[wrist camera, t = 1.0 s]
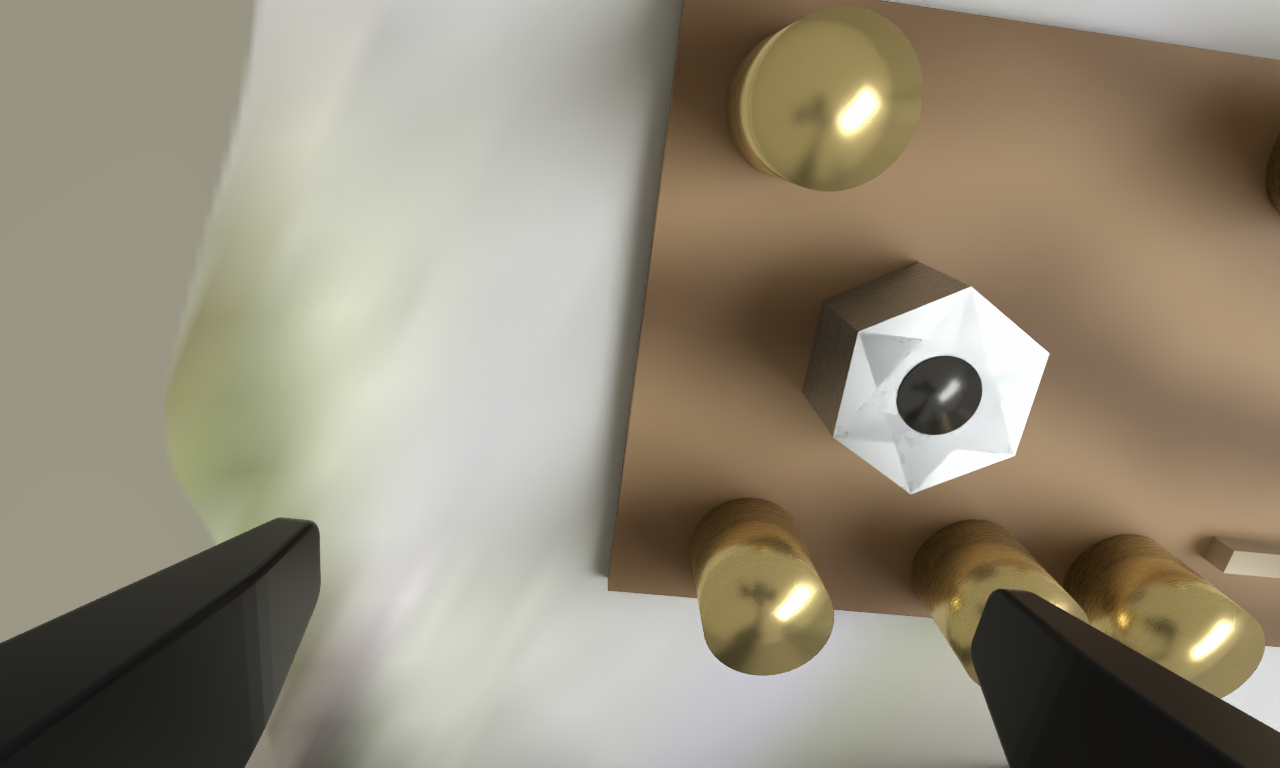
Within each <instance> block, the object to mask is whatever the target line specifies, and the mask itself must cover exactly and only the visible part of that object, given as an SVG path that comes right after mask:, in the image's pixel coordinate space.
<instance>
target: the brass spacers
mask: <svg viewBox="0 0 1280 768" xmlns="http://www.w3.org/2000/svg"><path fill="white" fill-rule="evenodd" d="M922 102H923V78H922V73H921V67H920V64H919V61H918V58H917V55H916V53H915V51H914V49H913V47H912V45H911V43H910V42H909V40H908V39H907V37H906V36H905V34H904V33H903V32H902V31H901V30H900V29H899V28H898V27H897V26H896V25H895V24H894V23H892V22H891V21H890V20H889V19H887V18H885V17H884V16H882V15H880V14H878V13H876V12H873V11H871V10H868V9H864V8H859V7H850V6H841V7H832V8H827V9H823V10H820V11H817V12H815V13H812V14H810V15H808V16H806V17H804V18H802V19H800V20H799V21H797V22H795V23H793V24H791V25H789V26H787V27H785V28H784V29H782V30H780V31H778V32H776V33H774V34H772V35H771V36H769V37H767V38H765V39H763V40H762V41H761V42H759V43H758V44H756V45H755V46H754V47H753V48H752V49H751V50H750V51H749V52H748V53H747V54H746V55H745V57H744V58H743V59H742V60H741V62H740V63H739V65H738V66H737V68H736V70H735V72H734V74H733V76H732V79H731V82H730V85H729V88H728V92H727V98H726V120H727V126H728V130H729V133H730V136H731V138H732V141H733V143H734V145H735V146H736V148H737V150H738V151H739V153H740V154H741V155H742V156H743V158H744V159H745V160H746V161H747V162H749V163H750V164H751V165H752V166H754V167H755V168H756V169H758V170H760V171H762V172H764V173H766V174H768V175H771V176H774V177H777V178H779V179H782V180H785V181H788V182H791V183H793V184H796V185H799V186H802V187H804V188H807V189H811V190H816V191H826V192H833V191H843V190H847V189H852V188H855V187H857V186H860V185H863V184H865V183H867V182H869V181H871V180H873V179H874V178H876V177H877V176H879V175H880V174H882V173H883V172H884V171H885V170H886V169H888V168H889V167H890V166H891V165H892V164H893V163H894V162H895V161H896V160H897V158H898V157H899V156H900V155H901V153H902V152H903V151H904V149H905V148H906V146H907V145H908V143H909V141H910V139H911V138H912V136H913V133H914V131H915V129H916V126H917V123H918V120H919V117H920V113H921V108H922ZM1265 181H1266V191H1267V195H1268V198H1269V201H1270V203H1271V204H1272V206H1273V208H1274V209H1275V210H1276V212H1277V213H1278V214H1279V215H1280V135H1279V137H1278V138H1277V140H1276V142H1275V144H1274V146H1273V148H1272V150H1271V153H1270V156H1269V159H1268V163H1267V167H1266V176H1265ZM690 556H691V562H692V568H693V574H694V580H695V585H696V591H697V597H698V603H699V609H700V614H701V620H702V626H703V632H704V637H705V640H706V643H707V645H708V647H709V649H710V650H711V652H712V653H713V654H714V656H715V657H716V658H717V659H718V660H719V661H720V662H722V663H723V664H725V665H726V666H728V667H730V668H732V669H734V670H736V671H739V672H742V673H746V674H751V675H775V674H780V673H784V672H788V671H791V670H793V669H795V668H798V667H800V666H801V665H803V664H805V663H806V662H808V661H809V660H811V659H812V658H813V657H814V656H815V655H817V654H818V653H819V651H820V650H821V649H822V648H823V647H824V645H825V644H826V642H827V641H828V639H829V637H830V634H831V631H832V629H833V623H834V611H833V606H832V602H831V600H830V597H829V595H828V593H827V591H826V588H825V586H824V584H823V582H822V580H821V577H820V575H819V573H818V571H817V568H816V566H815V564H814V562H813V559H812V557H811V555H810V553H809V551H808V548H807V546H806V544H805V542H804V539H803V537H802V535H801V533H800V530H799V528H798V526H797V524H796V522H795V520H794V519H793V518H792V516H791V515H790V514H789V513H788V512H787V511H786V510H784V509H783V508H782V507H780V506H779V505H777V504H775V503H772V502H770V501H767V500H763V499H757V498H741V499H736V500H732V501H728V502H725V503H723V504H721V505H719V506H717V507H716V508H714V509H712V510H711V511H710V512H708V513H707V514H706V515H705V516H704V517H703V518H702V519H701V521H700V522H699V523H698V525H697V526H696V528H695V530H694V532H693V535H692V538H691V542H690ZM911 580H912V584H913V587H914V589H915V591H916V593H917V594H918V596H919V598H920V599H921V601H922V602H923V604H924V605H925V607H926V609H927V610H928V612H929V613H930V615H931V616H932V618H933V620H934V621H935V623H936V624H937V626H938V627H939V629H940V631H941V632H942V634H943V635H944V637H945V638H946V640H947V642H948V643H949V645H950V646H951V648H952V649H953V651H954V653H955V654H956V656H957V657H958V659H959V660H960V662H961V664H962V665H963V667H964V668H965V670H966V671H967V673H968V675H969V676H970V677H971V678H972V680H973V681H974V682H976V683H977V684H978V685H979V686H980V683H979V681H978V678H977V675H976V672H975V669H974V667H973V663H972V659H971V643H972V639H973V636H974V634H975V631H976V628H977V626H978V623H979V620H980V618H981V615H982V612H983V610H984V607H985V604H986V602H987V599H988V597H989V595H990V594H991V593H992V592H993V591H994V590H996V589H999V588H1004V589H1015V590H1025V591H1029V592H1032V593H1035V594H1036V595H1038V596H1040V597H1042V598H1043V599H1045V600H1047V601H1049V602H1050V603H1052V604H1054V605H1056V606H1058V607H1059V608H1061V609H1063V610H1065V611H1066V612H1068V613H1070V614H1072V615H1073V616H1075V617H1077V618H1079V619H1080V620H1082V621H1084V622H1086V623H1088V624H1089V625H1091V626H1093V627H1095V628H1096V629H1098V630H1100V631H1102V632H1103V633H1105V634H1107V635H1109V636H1110V637H1112V638H1114V639H1116V640H1117V641H1119V642H1121V643H1123V644H1125V645H1126V646H1128V647H1130V648H1132V649H1133V650H1135V651H1137V652H1139V653H1140V654H1142V655H1144V656H1146V657H1147V658H1149V659H1151V660H1153V661H1155V662H1156V663H1158V664H1160V665H1162V666H1163V667H1165V668H1167V669H1169V670H1170V671H1172V672H1174V673H1176V674H1177V675H1179V676H1181V677H1183V678H1184V679H1186V680H1188V681H1190V682H1192V683H1193V684H1195V685H1197V686H1199V687H1200V688H1202V689H1204V690H1206V691H1207V692H1209V693H1211V694H1213V695H1214V696H1216V697H1218V698H1223V697H1225V696H1226V695H1228V694H1230V693H1231V692H1233V691H1234V690H1236V689H1237V688H1239V687H1240V686H1241V685H1242V684H1243V683H1244V682H1246V680H1247V679H1248V678H1249V677H1250V676H1251V675H1252V674H1253V672H1254V671H1255V670H1256V668H1257V667H1258V665H1259V663H1260V661H1261V659H1262V656H1263V653H1264V649H1265V636H1264V632H1263V629H1262V627H1261V625H1260V624H1259V623H1258V621H1257V620H1256V619H1255V618H1254V617H1253V616H1251V615H1250V614H1249V613H1247V612H1246V611H1245V610H1244V609H1242V608H1241V607H1240V606H1238V605H1237V604H1236V603H1235V602H1233V601H1232V600H1231V599H1230V598H1228V597H1227V596H1226V595H1224V594H1223V593H1222V592H1221V591H1219V590H1218V589H1217V588H1215V587H1214V586H1213V585H1212V584H1210V583H1209V582H1208V581H1206V580H1205V579H1204V578H1203V577H1201V576H1200V575H1199V574H1197V573H1196V572H1195V571H1194V570H1192V569H1191V568H1190V567H1189V566H1187V565H1186V564H1185V563H1183V562H1182V561H1181V560H1180V559H1178V558H1177V557H1176V556H1174V555H1173V554H1172V553H1171V552H1169V551H1168V550H1167V549H1165V548H1164V547H1163V546H1162V545H1160V544H1159V543H1158V542H1156V541H1155V540H1153V539H1151V538H1149V537H1146V536H1142V535H1136V534H1124V535H1117V536H1113V537H1110V538H1106V539H1104V540H1102V541H1099V542H1097V543H1096V544H1094V545H1092V546H1091V547H1089V548H1088V549H1086V550H1085V551H1084V552H1083V553H1081V554H1080V555H1079V556H1078V557H1077V558H1076V559H1075V561H1074V562H1073V563H1072V565H1071V566H1070V568H1069V569H1068V571H1067V573H1066V575H1065V578H1064V582H1063V588H1062V587H1061V586H1060V585H1059V584H1058V582H1057V581H1056V580H1055V579H1054V578H1053V577H1052V576H1051V575H1050V574H1049V573H1048V572H1047V571H1046V570H1045V569H1044V568H1043V567H1042V566H1041V565H1040V564H1039V563H1038V562H1037V560H1036V559H1035V558H1034V557H1033V556H1032V555H1031V554H1030V553H1029V552H1028V551H1027V550H1026V549H1025V548H1024V547H1023V546H1022V545H1021V544H1020V543H1019V542H1018V541H1017V540H1016V538H1015V537H1014V536H1013V535H1012V534H1011V533H1010V532H1009V531H1007V530H1006V529H1005V528H1004V527H1002V526H1000V525H998V524H996V523H994V522H990V521H986V520H976V519H973V520H964V521H959V522H956V523H952V524H950V525H948V526H945V527H943V528H942V529H940V530H938V531H937V532H935V533H934V534H933V535H931V536H930V537H929V538H928V539H927V540H926V541H925V542H924V543H923V544H922V546H921V547H920V548H919V550H918V552H917V553H916V555H915V558H914V560H913V563H912V568H911Z"/></svg>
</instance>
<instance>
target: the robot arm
mask: <svg viewBox="0 0 1280 768" xmlns="http://www.w3.org/2000/svg"><path fill="white" fill-rule="evenodd" d="M320 585H321V572H320V534H319V529H318V526H317V524H316V523H315V522H314V521H311V520H302V519H292V518H276V519H274V520H271V521H269V522H267V523H265V524H262V525H260V526H258V527H256V528H254V529H251V530H249V531H247V532H245V533H243V534H240V535H238V536H236V537H234V538H232V539H229V540H227V541H225V542H223V543H221V544H218V545H216V546H214V547H212V548H210V549H207V550H205V551H203V552H201V553H198V554H196V555H194V556H192V557H190V558H187V559H185V560H183V561H181V562H179V563H176V564H174V565H172V566H170V567H168V568H165V569H163V570H161V571H159V572H156V573H154V574H152V575H150V576H148V577H145V578H143V579H141V580H139V581H137V582H134V583H133V584H130V585H128V586H126V587H123V588H121V589H119V590H117V591H115V592H112V593H110V594H108V595H106V596H103V597H101V598H99V599H97V600H95V601H92V602H90V603H88V604H86V605H84V606H81V607H79V608H77V609H75V610H73V611H70V612H68V613H66V614H64V615H61V616H59V617H57V618H55V619H53V620H50V621H48V622H46V623H44V624H42V625H39V626H37V627H35V628H33V629H31V630H28V631H26V632H24V633H22V634H19V635H17V636H15V637H13V638H11V639H9V640H6V641H4V642H2V643H0V768H245V766H246V764H247V762H248V760H249V758H250V757H251V755H252V753H253V751H254V749H255V747H256V745H257V743H258V741H259V739H260V737H261V735H262V733H263V731H264V729H265V727H266V725H267V723H268V720H269V718H270V716H271V713H272V711H273V709H274V707H275V704H276V702H277V699H278V697H279V694H280V692H281V689H282V687H283V685H284V682H285V680H286V677H287V675H288V672H289V670H290V667H291V665H292V663H293V660H294V658H295V655H296V653H297V650H298V648H299V645H300V643H301V641H302V638H303V636H304V633H305V631H306V628H307V626H308V623H309V621H310V619H311V616H312V614H313V611H314V609H315V606H316V604H317V600H318V597H319V592H320ZM971 659H972V663H973V667H974V669H975V672H976V675H977V678H978V681H979V683H980V686H981V689H982V692H983V695H984V697H985V700H986V703H987V706H988V709H989V711H990V714H991V717H992V720H993V723H994V725H995V728H996V731H997V734H998V737H999V739H1000V742H1001V745H1002V748H1003V751H1004V753H1005V756H1006V759H1007V762H1008V765H1009V767H1010V768H1280V732H1278V731H1276V730H1274V729H1273V728H1271V727H1269V726H1267V725H1266V724H1264V723H1262V722H1260V721H1259V720H1257V719H1255V718H1253V717H1251V716H1250V715H1248V714H1246V713H1244V712H1243V711H1241V710H1239V709H1237V708H1236V707H1234V706H1232V705H1230V704H1229V703H1227V702H1225V701H1223V700H1222V699H1220V698H1218V697H1216V696H1214V695H1213V694H1211V693H1209V692H1207V691H1206V690H1204V689H1202V688H1200V687H1199V686H1197V685H1195V684H1193V683H1192V682H1190V681H1188V680H1186V679H1184V678H1183V677H1181V676H1179V675H1177V674H1176V673H1174V672H1172V671H1170V670H1169V669H1167V668H1165V667H1163V666H1162V665H1160V664H1158V663H1156V662H1155V661H1153V660H1151V659H1149V658H1147V657H1146V656H1144V655H1142V654H1140V653H1139V652H1137V651H1135V650H1133V649H1132V648H1130V647H1128V646H1126V645H1125V644H1123V643H1121V642H1119V641H1117V640H1116V639H1114V638H1112V637H1110V636H1109V635H1107V634H1105V633H1103V632H1102V631H1100V630H1098V629H1096V628H1095V627H1093V626H1091V625H1089V624H1088V623H1086V622H1084V621H1082V620H1080V619H1079V618H1077V617H1075V616H1073V615H1072V614H1070V613H1068V612H1066V611H1065V610H1063V609H1061V608H1059V607H1058V606H1056V605H1054V604H1052V603H1050V602H1049V601H1047V600H1045V599H1043V598H1042V597H1040V596H1038V595H1036V594H1035V593H1032V592H1029V591H1025V590H1015V589H1004V588H999V589H996V590H994V591H993V592H992V593H991V594H990V595H989V597H988V599H987V602H986V604H985V607H984V610H983V612H982V615H981V618H980V620H979V623H978V626H977V628H976V631H975V634H974V636H973V639H972V643H971Z"/></svg>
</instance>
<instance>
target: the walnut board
mask: <svg viewBox="0 0 1280 768" xmlns="http://www.w3.org/2000/svg"><path fill="white" fill-rule="evenodd" d="M841 6H850V7H859V8H864V9H868V10H871V11H873V12H876V13H878V14H880V15H882V16H884V17H885V18H887V19H889V20H890V21H891V22H892V23H894V24H895V25H896V26H897V27H898V28H899V29H900V30H901V31H902V32H903V33H904V34H905V36H906V37H907V39H908V40H909V42H910V43H911V45H912V47H913V49H914V51H915V53H916V55H917V58H918V61H919V64H920V67H921V73H922V78H923V102H922V108H921V113H920V117H919V120H918V123H917V126H916V129H915V131H914V133H913V136H912V138H911V139H910V141H909V143H908V145H907V146H906V148H905V149H904V151H903V152H902V153H901V155H900V156H899V157H898V158H897V160H896V161H895V162H894V163H893V164H892V165H891V166H890V167H889V168H888V169H886V170H885V171H884V172H883V173H882V174H880V175H879V176H877V177H876V178H874V179H873V180H871V181H869V182H867V183H865V184H863V185H860V186H857V187H855V188H852V189H847V190H843V191H833V192H826V191H816V190H811V189H807V188H804V187H802V186H799V185H796V184H793V183H791V182H788V181H785V180H782V179H779V178H777V177H774V176H771V175H768V174H766V173H764V172H762V171H760V170H758V169H756V168H755V167H754V166H752V165H751V164H750V163H749V162H747V161H746V160H745V159H744V158H743V156H742V155H741V154H740V153H739V151H738V150H737V148H736V146H735V145H734V143H733V141H732V138H731V136H730V133H729V130H728V126H727V120H726V98H727V92H728V88H729V85H730V82H731V79H732V76H733V74H734V72H735V70H736V68H737V66H738V65H739V63H740V62H741V60H742V59H743V58H744V57H745V55H746V54H747V53H748V52H749V51H750V50H751V49H752V48H753V47H754V46H755V45H756V44H758V43H759V42H761V41H762V40H763V39H765V38H767V37H769V36H771V35H772V34H774V33H776V32H778V31H780V30H782V29H784V28H785V27H787V26H789V25H791V24H793V23H795V22H797V21H799V20H800V19H802V18H804V17H806V16H808V15H810V14H812V13H815V12H817V11H820V10H823V9H827V8H832V7H841ZM1279 135H1280V60H1273V59H1267V58H1260V57H1253V56H1247V55H1240V54H1233V53H1227V52H1220V51H1214V50H1207V49H1200V48H1194V47H1187V46H1180V45H1174V44H1167V43H1160V42H1154V41H1147V40H1140V39H1134V38H1127V37H1120V36H1114V35H1107V34H1100V33H1094V32H1087V31H1081V30H1074V29H1067V28H1061V27H1054V26H1047V25H1041V24H1034V23H1027V22H1021V21H1014V20H1007V19H1001V18H994V17H987V16H981V15H974V14H967V13H961V12H954V11H948V10H941V9H934V8H928V7H921V6H914V5H908V4H901V3H894V2H888V1H881V0H683V6H682V14H681V22H680V30H679V37H678V45H677V53H676V60H675V68H674V76H673V83H672V91H671V99H670V106H669V114H668V122H667V129H666V137H665V145H664V152H663V160H662V168H661V175H660V183H659V191H658V198H657V206H656V214H655V221H654V229H653V237H652V244H651V252H650V260H649V268H648V275H647V283H646V291H645V298H644V306H643V314H642V321H641V329H640V337H639V344H638V352H637V360H636V367H635V375H634V383H633V390H632V398H631V406H630V413H629V421H628V429H627V436H626V444H625V452H624V459H623V467H622V475H621V482H620V490H619V498H618V506H617V513H616V521H615V529H614V536H613V544H612V552H611V559H610V567H609V575H608V591H619V592H631V593H643V594H655V595H667V596H679V597H690V598H698V597H697V591H696V585H695V580H694V574H693V568H692V562H691V556H690V542H691V538H692V535H693V532H694V530H695V528H696V526H697V525H698V523H699V522H700V521H701V519H702V518H703V517H704V516H705V515H706V514H707V513H708V512H710V511H711V510H712V509H714V508H716V507H717V506H719V505H721V504H723V503H725V502H728V501H732V500H736V499H741V498H757V499H763V500H767V501H770V502H772V503H775V504H777V505H779V506H780V507H782V508H783V509H784V510H786V511H787V512H788V513H789V514H790V515H791V516H792V518H793V519H794V520H795V522H796V524H797V526H798V528H799V530H800V533H801V535H802V537H803V539H804V542H805V544H806V546H807V548H808V551H809V553H810V555H811V557H812V559H813V562H814V564H815V566H816V568H817V571H818V573H819V575H820V577H821V580H822V582H823V584H824V586H825V588H826V591H827V593H828V595H829V597H830V600H831V602H832V606H833V610H845V611H857V612H869V613H881V614H893V615H905V616H916V617H928V618H932V616H931V615H930V613H929V612H928V610H927V609H926V607H925V605H924V604H923V602H922V601H921V599H920V598H919V596H918V594H917V593H916V591H915V589H914V587H913V584H912V580H911V568H912V563H913V560H914V558H915V555H916V553H917V552H918V550H919V548H920V547H921V546H922V544H923V543H924V542H925V541H926V540H927V539H928V538H929V537H930V536H931V535H933V534H934V533H935V532H937V531H938V530H940V529H942V528H943V527H945V526H948V525H950V524H952V523H956V522H959V521H964V520H973V519H976V520H986V521H990V522H994V523H996V524H998V525H1000V526H1002V527H1004V528H1005V529H1006V530H1007V531H1009V532H1010V533H1011V534H1012V535H1013V536H1014V537H1015V538H1016V540H1017V541H1018V542H1019V543H1020V544H1021V545H1022V546H1023V547H1024V548H1025V549H1026V550H1027V551H1028V552H1029V553H1030V554H1031V555H1032V556H1033V557H1034V558H1035V559H1036V560H1037V562H1038V563H1039V564H1040V565H1041V566H1042V567H1043V568H1044V569H1045V570H1046V571H1047V572H1048V573H1049V574H1050V575H1051V576H1052V577H1053V578H1054V579H1055V580H1056V581H1057V582H1058V584H1059V585H1060V586H1061V587H1062V588H1063V582H1064V578H1065V575H1066V573H1067V571H1068V569H1069V568H1070V566H1071V565H1072V563H1073V562H1074V561H1075V559H1076V558H1077V557H1078V556H1079V555H1080V554H1081V553H1083V552H1084V551H1085V550H1086V549H1088V548H1089V547H1091V546H1092V545H1094V544H1096V543H1097V542H1099V541H1102V540H1104V539H1106V538H1110V537H1113V536H1117V535H1124V534H1136V535H1142V536H1146V537H1149V538H1151V539H1153V540H1155V541H1156V542H1158V543H1159V544H1160V545H1162V546H1163V547H1164V548H1165V549H1167V550H1168V551H1169V552H1171V553H1172V554H1173V555H1174V556H1176V557H1177V558H1178V559H1180V560H1181V561H1182V562H1183V563H1185V564H1186V565H1187V566H1189V567H1190V568H1191V569H1192V570H1194V571H1195V572H1196V573H1197V574H1199V575H1200V576H1201V577H1203V578H1204V579H1205V580H1206V581H1208V582H1209V583H1210V584H1212V585H1213V586H1214V587H1215V588H1217V589H1218V590H1219V591H1221V592H1222V593H1223V594H1224V595H1226V596H1227V597H1228V598H1230V599H1231V600H1232V601H1233V602H1235V603H1236V604H1237V605H1238V606H1240V607H1241V608H1242V609H1244V610H1245V611H1246V612H1247V613H1249V614H1250V615H1251V616H1253V617H1254V618H1255V619H1256V620H1257V621H1258V623H1259V624H1260V625H1261V627H1262V629H1263V632H1264V636H1265V646H1273V647H1280V215H1279V214H1278V213H1277V212H1276V210H1275V209H1274V208H1273V206H1272V204H1271V203H1270V201H1269V198H1268V195H1267V191H1266V181H1265V176H1266V167H1267V163H1268V159H1269V156H1270V153H1271V150H1272V148H1273V146H1274V144H1275V142H1276V140H1277V138H1278V137H1279ZM917 261H918V262H920V263H923V264H925V265H927V266H929V267H931V268H933V269H935V270H937V271H940V272H942V273H944V274H946V275H948V276H950V277H952V278H954V279H957V280H959V281H961V282H963V283H965V284H967V285H969V286H971V287H972V288H974V289H975V290H976V291H977V292H978V293H979V294H981V295H982V296H983V297H984V298H985V299H986V300H988V301H989V302H990V303H991V304H992V305H993V306H995V307H996V308H997V309H998V310H999V311H1000V312H1002V313H1003V314H1004V315H1005V316H1006V317H1007V318H1009V319H1010V320H1011V321H1012V322H1013V323H1014V324H1016V325H1017V326H1018V327H1019V328H1020V329H1021V330H1023V331H1024V332H1025V333H1026V334H1027V335H1028V336H1030V337H1031V338H1032V339H1033V340H1034V341H1035V342H1037V343H1038V344H1039V345H1040V346H1041V347H1042V348H1044V349H1045V350H1046V351H1047V352H1048V353H1049V356H1048V359H1047V362H1046V365H1045V368H1044V371H1043V374H1042V377H1041V380H1040V383H1039V386H1038V389H1037V392H1036V394H1035V397H1034V400H1033V403H1032V406H1031V409H1030V412H1029V415H1028V418H1027V421H1026V424H1025V427H1024V430H1023V433H1022V436H1021V438H1020V441H1019V444H1018V447H1017V450H1016V453H1015V456H1012V457H1010V458H1007V459H1004V460H1002V461H999V462H996V463H994V464H991V465H988V466H986V467H983V468H980V469H977V470H975V471H972V472H969V473H967V474H964V475H961V476H959V477H956V478H953V479H951V480H948V481H945V482H942V483H940V484H937V485H934V486H932V487H929V488H926V489H924V490H921V491H918V492H916V493H913V494H910V493H908V492H907V491H906V490H904V489H903V488H902V487H900V486H899V485H897V484H896V483H895V482H893V481H892V480H891V479H889V478H888V477H887V476H885V475H884V474H882V473H881V472H880V471H878V470H877V469H876V468H874V467H873V466H872V465H870V464H869V463H868V462H866V461H865V460H863V459H862V458H861V457H859V456H858V455H857V454H855V453H854V452H853V451H851V450H850V449H849V448H847V447H846V446H844V445H843V444H842V443H840V442H839V441H838V440H836V439H835V438H834V437H832V435H831V434H830V432H829V431H828V429H827V428H826V426H825V425H824V423H823V422H822V420H821V419H820V418H819V416H818V415H817V413H816V412H815V410H814V409H813V407H812V406H811V404H810V403H809V401H808V400H807V399H806V397H805V396H804V394H803V393H802V391H803V386H804V382H805V377H806V373H807V368H808V363H809V359H810V354H811V350H812V345H813V341H814V336H815V331H816V327H817V322H818V318H819V313H820V309H821V304H822V300H824V299H827V298H829V297H832V296H834V295H836V294H839V293H841V292H844V291H846V290H849V289H851V288H854V287H856V286H859V285H861V284H863V283H866V282H868V281H871V280H873V279H876V278H878V277H881V276H883V275H886V274H888V273H890V272H893V271H895V270H898V269H900V268H903V267H905V266H908V265H910V264H912V263H915V262H917Z"/></svg>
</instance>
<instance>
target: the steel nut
mask: <svg viewBox="0 0 1280 768" xmlns="http://www.w3.org/2000/svg"><path fill="white" fill-rule="evenodd" d="M1048 356H1049V353H1048V352H1047V351H1046V350H1045V349H1044V348H1042V347H1041V346H1040V345H1039V344H1038V343H1037V342H1035V341H1034V340H1033V339H1032V338H1031V337H1030V336H1028V335H1027V334H1026V333H1025V332H1024V331H1023V330H1021V329H1020V328H1019V327H1018V326H1017V325H1016V324H1014V323H1013V322H1012V321H1011V320H1010V319H1009V318H1007V317H1006V316H1005V315H1004V314H1003V313H1002V312H1000V311H999V310H998V309H997V308H996V307H995V306H993V305H992V304H991V303H990V302H989V301H988V300H986V299H985V298H984V297H983V296H982V295H981V294H979V293H978V292H977V291H976V290H975V289H974V288H972V287H971V286H969V285H967V284H965V283H963V282H961V281H959V280H957V279H954V278H952V277H950V276H948V275H946V274H944V273H942V272H940V271H937V270H935V269H933V268H931V267H929V266H927V265H925V264H923V263H920V262H918V261H917V262H915V263H912V264H910V265H908V266H905V267H903V268H900V269H898V270H895V271H893V272H890V273H888V274H886V275H883V276H881V277H878V278H876V279H873V280H871V281H868V282H866V283H863V284H861V285H859V286H856V287H854V288H851V289H849V290H846V291H844V292H841V293H839V294H836V295H834V296H832V297H829V298H827V299H824V300H822V304H821V309H820V313H819V318H818V322H817V327H816V331H815V336H814V341H813V345H812V350H811V354H810V359H809V363H808V368H807V373H806V377H805V382H804V386H803V391H802V393H803V394H804V396H805V397H806V399H807V400H808V401H809V403H810V404H811V406H812V407H813V409H814V410H815V412H816V413H817V415H818V416H819V418H820V419H821V420H822V422H823V423H824V425H825V426H826V428H827V429H828V431H829V432H830V434H831V435H832V437H834V438H835V439H836V440H838V441H839V442H840V443H842V444H843V445H844V446H846V447H847V448H849V449H850V450H851V451H853V452H854V453H855V454H857V455H858V456H859V457H861V458H862V459H863V460H865V461H866V462H868V463H869V464H870V465H872V466H873V467H874V468H876V469H877V470H878V471H880V472H881V473H882V474H884V475H885V476H887V477H888V478H889V479H891V480H892V481H893V482H895V483H896V484H897V485H899V486H900V487H902V488H903V489H904V490H906V491H907V492H908V493H910V494H913V493H916V492H918V491H921V490H924V489H926V488H929V487H932V486H934V485H937V484H940V483H942V482H945V481H948V480H951V479H953V478H956V477H959V476H961V475H964V474H967V473H969V472H972V471H975V470H977V469H980V468H983V467H986V466H988V465H991V464H994V463H996V462H999V461H1002V460H1004V459H1007V458H1010V457H1012V456H1015V453H1016V450H1017V447H1018V444H1019V441H1020V438H1021V436H1022V433H1023V430H1024V427H1025V424H1026V421H1027V418H1028V415H1029V412H1030V409H1031V406H1032V403H1033V400H1034V397H1035V394H1036V392H1037V389H1038V386H1039V383H1040V380H1041V377H1042V374H1043V371H1044V368H1045V365H1046V362H1047V359H1048Z"/></svg>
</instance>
